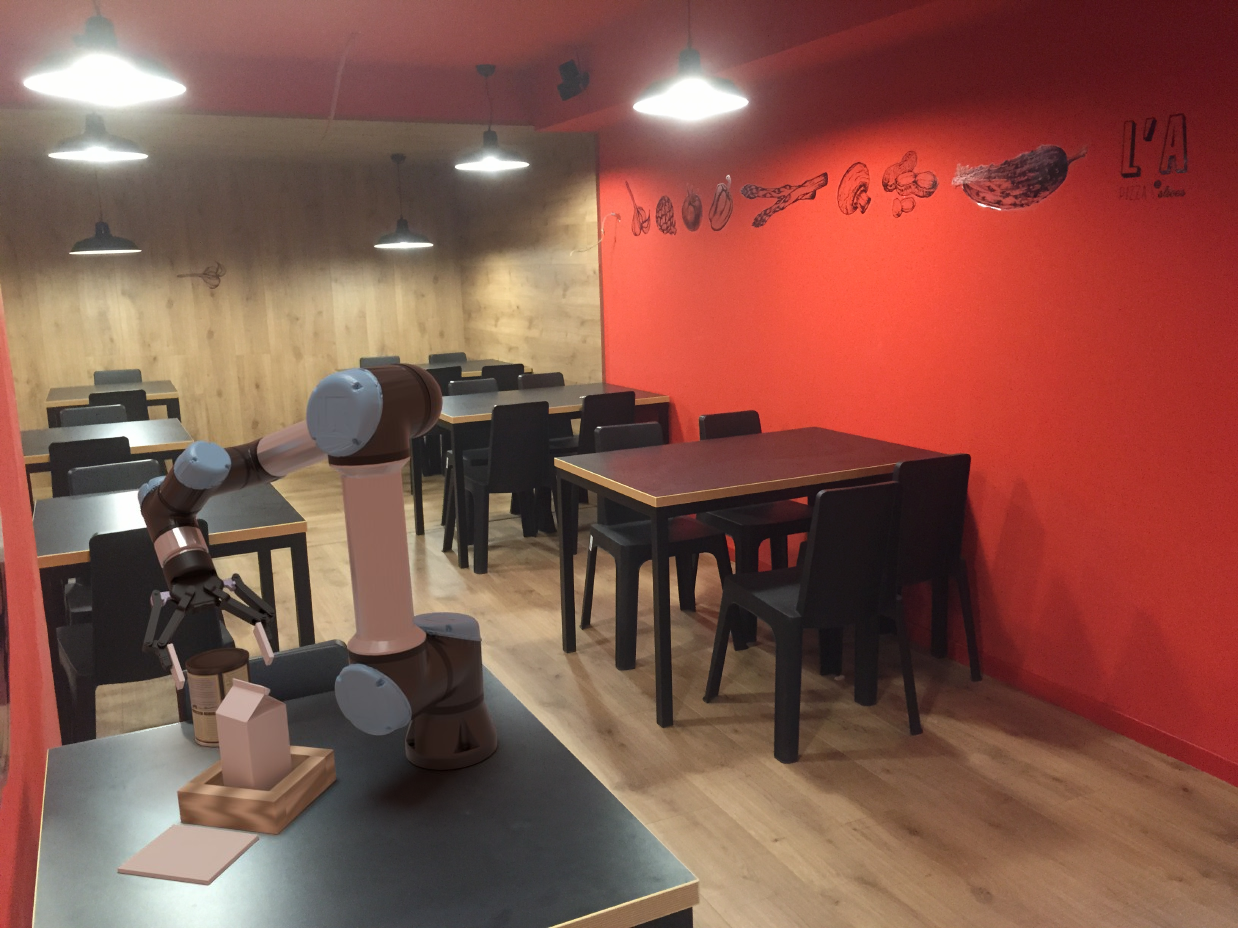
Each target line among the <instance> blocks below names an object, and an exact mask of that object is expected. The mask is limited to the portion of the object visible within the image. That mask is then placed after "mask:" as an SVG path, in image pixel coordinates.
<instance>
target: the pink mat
mask: <svg viewBox="0 0 1238 928" xmlns="http://www.w3.org/2000/svg"><path fill="white" fill-rule="evenodd" d="M259 839H260V836H259V834H258V833H257V834H256V833H255V834H254V833H247V832H239V831H231V830H222V829H215V828H207V827H205V828H204V827H198V826H190V825H182V824H174V823H173V824H172V825H171V826H169V827H168V828H167V829H166V830H164V831H163V832H161V834H159V835H158V836H157V837H156V838H154V839H153V840H151V842H149V843H148V844H146V845H145V846H144V847H143V848H142V849H140V850H139V851H137V853H135V854H134V855H132V856H131V857H129V859H127V860H126V861H125V862H123V864H121V865H120V866H118V867H117V868H116V869H117V873H119V874H126V875H134V876H141V877H149V878H156V879H163V880H169V881H170V880H171V881H178V882H185V883H191V884H199V885H205V886H208V885H210V884H212V882H214V880H216V878H218V877H219V876H220V875H221V874H222V873H223V872H224V871H225V870H226V869H227V868H229V867H230V866H231V865H232V864H233V863H234V862H236V860H237V859H239V857H241V856H242V855H243V854H244V853H245V852H246V851H247V850H248V849H250V848H251V846H253V845H254V844H255V843H256V842H257V841H258V840H259Z"/></svg>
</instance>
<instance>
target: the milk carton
mask: <svg viewBox="0 0 1238 928" xmlns="http://www.w3.org/2000/svg"><path fill="white" fill-rule="evenodd" d="M232 681H233V686H232V688H231V689H230V691H229V692H228V694H227V695H226V697H225V699H224V700H223V702H222V703H221V705H220V706H219V708H218V709H217V711H216V712H215V713H216V721H217V730H218V739H219V746H218V747H219V755H220V759H221V766H222V774H223V783H224V786H225V787H234V788H243V789H252V790H261V791H270V790H271V789H272V788H274V787H275V786H276V785H277V784H278V783H279V782H281V781H282V780H283V779H284V778H285V777H286V776H288V775H289V774H290V773H291V772H292V762H291V752H290V746H291V744H290V743H291V742H290V733H289V724H288V723H289V722H288V714H287V713H288V712H287V705H286V703H284V702H282V701H280V700H279V699H276V698H275V697H272V696H270V693H271V689H270V688H268V687H266V686H263V685H260V684H256V683H252V682H251V683H248V682H245V681H241V680H238V679H232Z"/></svg>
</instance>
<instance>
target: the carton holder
mask: <svg viewBox="0 0 1238 928" xmlns="http://www.w3.org/2000/svg"><path fill="white" fill-rule="evenodd" d="M334 750H335V749H332V748H318V747H309V746H302V745H301V746H299V745H290V752H291V762H292V772H291V773H290V774H289V775H288V776H286V777H285V778H284V779H283V780H282V781H281V782H279V783H278V784H277V785H276V786H275V787H274V788H272V789H271V790H270V791H261V790H252V789H243V788H234V787H225V786H224V783H223V774H222V766H221V758H220V759H218V760H217V761H216V762H214V763H213V764H211V765H210V766H209V767H208V768H206V769H205V770H204V771H202V772H201V773H199V774H198V775H197V776H196V777H194V778H193V779H191V780H190V781H188V782H187V783H186V784H185V785H184V786H182V787H180V788H179V789H178V790H177V791H176V793H177V801H178V810H179V817H180V818H179V819H180V823H182V824H190V825H198V826H206V827H215V828H223V829H229V830H230V829H231V830H239V831H246V832H254V833H265V834H271V835H279V834H280V833H281V832H282V831H283V830H284V829H285V828H286V827H287V826H288V825H289V824H290V823H291V822H292V821H294V820H295V818H296V817H298V816H299V815H300V813H302V812H303V811H304V810H305V809H306V808H308V806H309V805H311V804H312V803H313V801H315V800H316V799H317V798H318V797H319V796H320V795H321V794H322V793H323V792H324V791H325V790H326V789H327V788H329V786H330V785H332V784H333V783H334V782H335V781H336V780H337V774H336V773H337V771H336V762H335V761H336V760H335V751H334Z"/></svg>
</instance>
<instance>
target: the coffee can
mask: <svg viewBox="0 0 1238 928" xmlns="http://www.w3.org/2000/svg"><path fill="white" fill-rule="evenodd" d="M184 665H185V669H186V675H187V682H188V690H189V698H190V707H191V715H192V722H193V728H194V729H193V731H194V736H195V737H194V740H195V743H196V744H199V745H200V746H203V747H210V748H211V747H212V748H213V747H215V748H217V747H219V739H218V730H217V721H216V713H215V712H216V711H217V709H218V708H219V706H220V705H221V703H222V702H223V700H224V699H225V697H226V695H227V694H228V692H229V691H230V689H231V688H232V686H233V681H232V679H238V680H241V681H245V682H248V683H252V676H251V666H250V652H249V651H248V650H247V649H245V648H242V647H241V648H240V647H221V648H220V647H219V648H214V649H209V650H206V651H203V652H199V653H197V654H194V655H192V657H189V658H188V659H187V660H186V661H185V664H184Z"/></svg>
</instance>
